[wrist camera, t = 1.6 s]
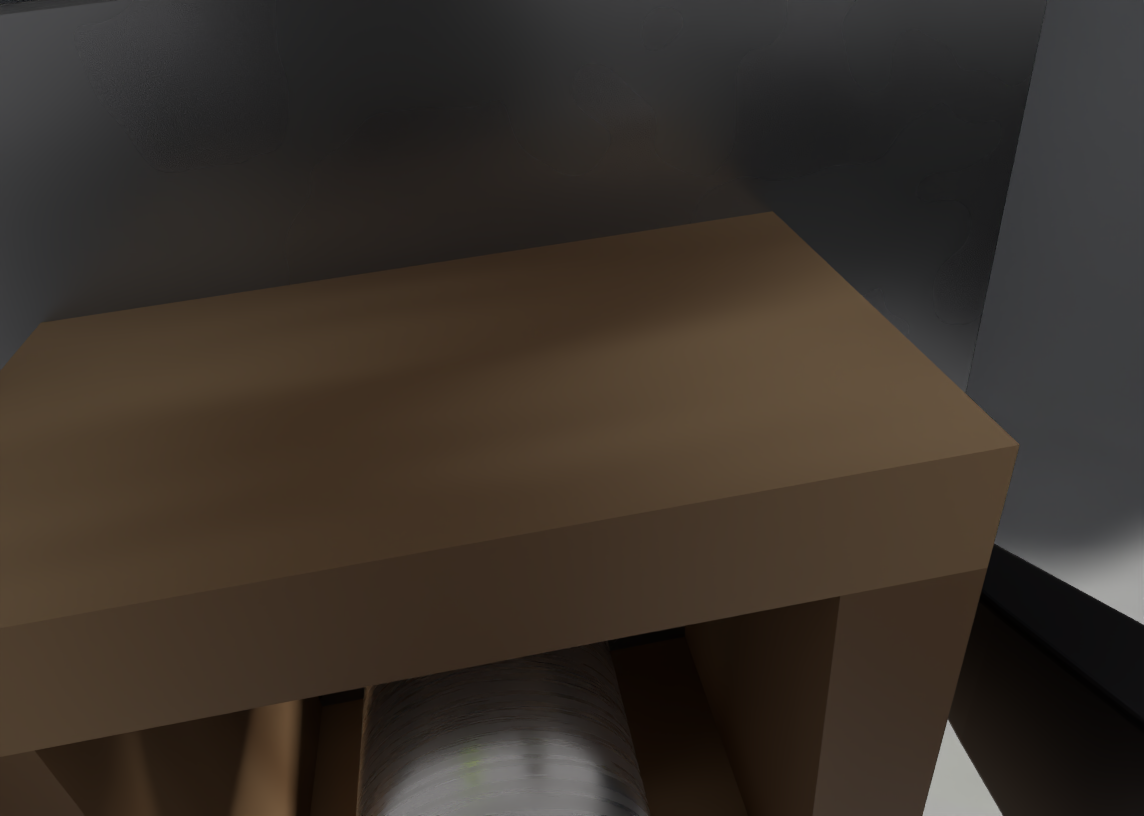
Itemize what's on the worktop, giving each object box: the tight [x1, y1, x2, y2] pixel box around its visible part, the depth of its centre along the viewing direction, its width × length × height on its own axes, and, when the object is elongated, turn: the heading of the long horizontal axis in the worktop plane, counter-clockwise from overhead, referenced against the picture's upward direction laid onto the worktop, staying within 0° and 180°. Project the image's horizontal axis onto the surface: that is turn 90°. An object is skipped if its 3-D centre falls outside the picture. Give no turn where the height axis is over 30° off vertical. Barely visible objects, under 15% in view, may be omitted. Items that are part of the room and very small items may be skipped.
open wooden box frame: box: [0, 211, 1020, 816], centre depth 8 cm, size 7×7×4 cm
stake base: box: [0, 0, 1047, 816], centre depth 8 cm, size 12×12×6 cm
